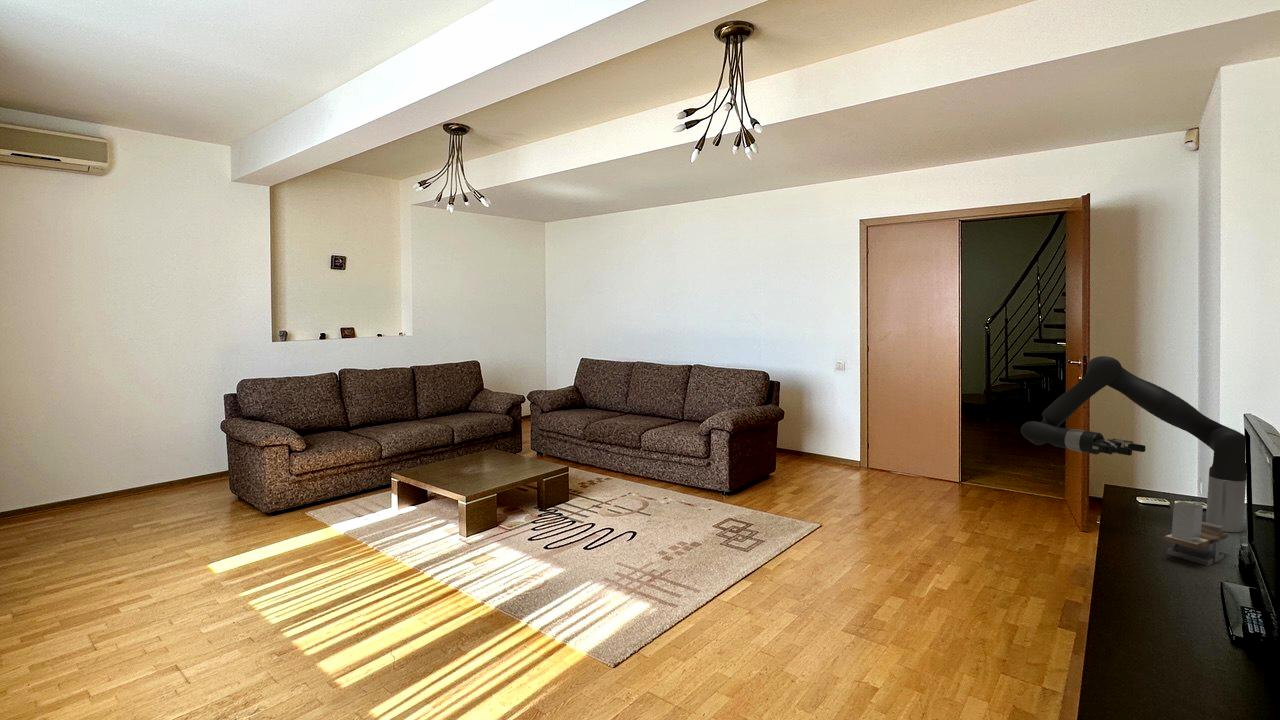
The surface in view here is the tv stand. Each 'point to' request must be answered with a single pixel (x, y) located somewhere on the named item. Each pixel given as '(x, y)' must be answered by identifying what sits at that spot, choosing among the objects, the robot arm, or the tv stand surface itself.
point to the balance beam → (1207, 536)
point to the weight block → (1187, 521)
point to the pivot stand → (1198, 553)
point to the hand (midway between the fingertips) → (1138, 450)
